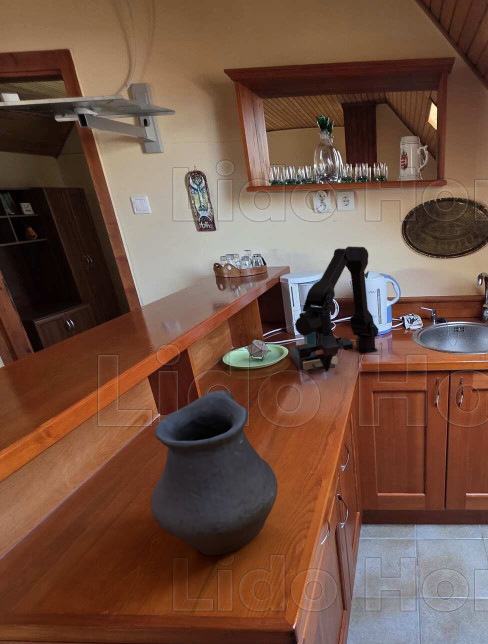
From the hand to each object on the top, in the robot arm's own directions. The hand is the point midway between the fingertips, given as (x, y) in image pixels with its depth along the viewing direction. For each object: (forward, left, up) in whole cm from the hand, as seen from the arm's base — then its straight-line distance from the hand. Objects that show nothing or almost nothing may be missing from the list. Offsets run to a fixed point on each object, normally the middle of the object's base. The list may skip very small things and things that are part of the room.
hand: (326, 370), depth 143 cm
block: (0, -16, +3) cm, 16 cm away
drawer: (0, -10, 0) cm, 10 cm away
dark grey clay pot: (+39, +62, -2) cm, 74 cm away
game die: (+18, -27, -2) cm, 32 cm away
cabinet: (0, -16, -1) cm, 16 cm away
